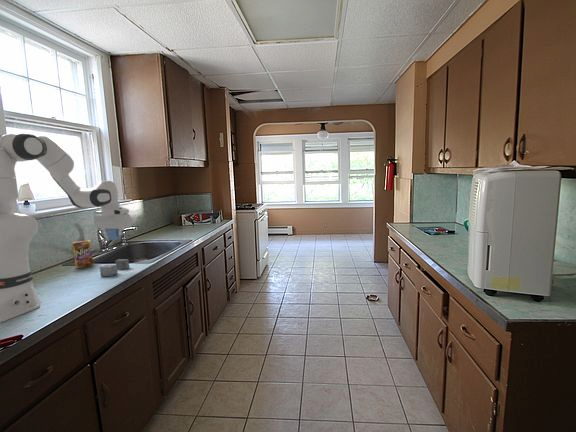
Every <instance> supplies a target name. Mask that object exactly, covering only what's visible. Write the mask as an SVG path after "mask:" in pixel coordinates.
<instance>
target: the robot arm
mask: <svg viewBox="0 0 576 432" xmlns="http://www.w3.org/2000/svg"><path fill="white" fill-rule="evenodd" d="M34 160H36V161H38V163H39V164H41V165H42V167H44V168H45V169H46V170H47V171H48V172H49V174H50V176H51V178H52V179H53V180H54V182H55V183H56V184H57V185H58V186H59V187H60V188H61V189H62V190H63V192H64V193H65V194H66V195H67V196H68V199H69V201H70V203H71V204H72V206H73V207H76V208H78V209H83V208H99V207H100V210H99V211H97V210H96V211H95V212H94V213H93V227H94V228H95V229H102V230H103V231H104V233H105V234H106V237H108V234H107V229H110V228H118V230H119V232H118V233H117V236H121V237H122V235H123V234H122V232H123V230H124V229H125V228H131V227H132V219H131V215H130V210H129V208H125V207H122V206H120V203H119V191H118V187H117V185H116V183H115V182H113V181H110V180H100V181H99V182H98V183H97V184H95V186H93V187H91V188H83V187H80V186H79V185H77V184H76V182H75V181H74V180H73V178H71V177H70V173H71V172H72V171H73V170H74V167H75V161H74V160H73V158H72V156H71V155H70V154H69V153H68V152H67V151H66V150H65V149H64V148H63V147H62V146H61V145H59V144H58V143H57V142H56V141H54V140H53V139H52V138H50V137H49V136H47V135H46V134H45V135H44V134H42V135H41V134H40V135H34V134H31V133H26V132H25V133H23V132H22V133H7V134H2V135H0V324H1V323H3V322H5V321H8V320H10V319H13V318H16V317H18V316H21V315H23V314H26V313H29V312H31V311H33V310H36V309H38V308H40V307H41V301H40V299H39V297H38V294H37V292H36V289H35V287H34V284H33V279H34V278H33V277H34V276H33V273H32V270H31V268H30V262H29V248H30V247H29V246H30V243H31V241H32V239H33V238H34V237H35V236H36V235H37V233H38V231H39V223H38V221H37V219H36V218H34V217H33V216H31V215H27V214H24V213H23V214H22V213H12V207H13V205H14V202H16V201H17V200H18V198H19V190H18V182H17V177H16V171H15V167H16V165H17V162H26V161H27V162H28V161H34Z"/></svg>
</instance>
